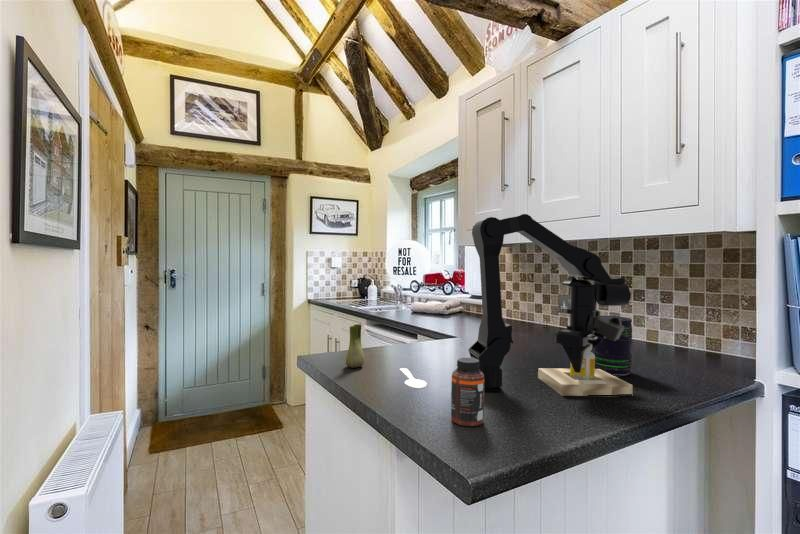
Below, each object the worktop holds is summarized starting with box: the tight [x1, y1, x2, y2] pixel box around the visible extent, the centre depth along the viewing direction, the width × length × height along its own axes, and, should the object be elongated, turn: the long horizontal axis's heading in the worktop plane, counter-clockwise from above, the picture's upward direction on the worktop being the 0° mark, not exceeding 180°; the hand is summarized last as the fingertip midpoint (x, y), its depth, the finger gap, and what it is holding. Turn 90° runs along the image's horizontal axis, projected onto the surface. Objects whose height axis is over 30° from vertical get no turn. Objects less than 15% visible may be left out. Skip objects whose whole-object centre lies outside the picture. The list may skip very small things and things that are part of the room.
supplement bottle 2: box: [569, 343, 595, 380], centre depth 95 cm, size 5×5×10 cm
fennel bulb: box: [345, 323, 365, 369], centre depth 109 cm, size 6×5×12 cm
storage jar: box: [593, 315, 633, 374], centre depth 109 cm, size 10×10×15 cm
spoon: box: [399, 367, 428, 390], centre depth 100 cm, size 5×18×1 cm, turn 12°
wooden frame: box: [537, 367, 634, 397], centre depth 95 cm, size 16×14×3 cm
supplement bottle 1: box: [450, 357, 485, 427], centre depth 72 cm, size 6×6×11 cm
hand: (581, 370), depth 95 cm, fingers closed on supplement bottle 2, 5 cm apart
